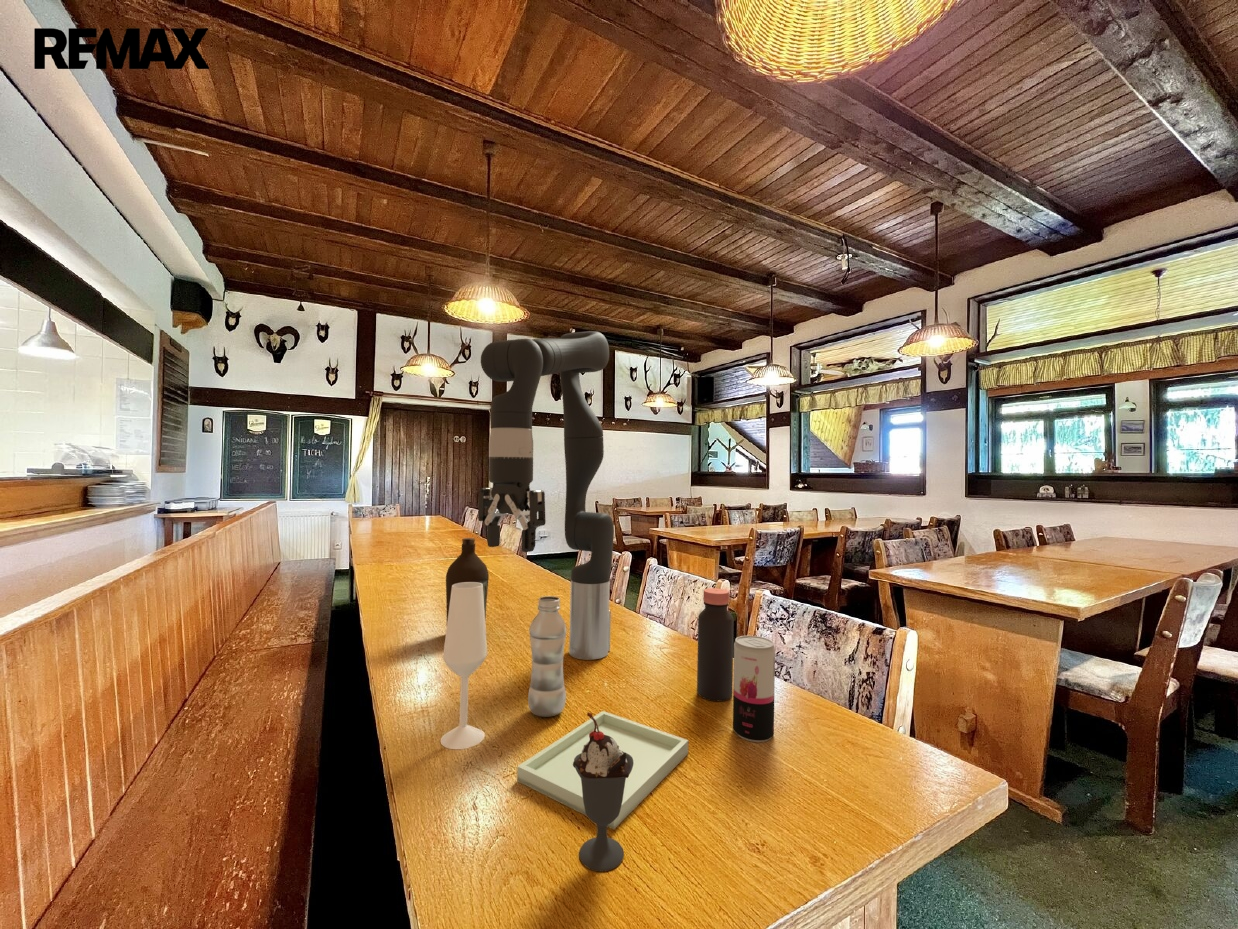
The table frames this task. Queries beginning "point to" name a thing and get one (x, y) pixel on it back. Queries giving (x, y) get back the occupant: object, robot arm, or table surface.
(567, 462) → the robot arm
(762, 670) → the beverage can
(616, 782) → the sundae
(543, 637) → the silver metal bottle
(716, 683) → the dark grey water bottle
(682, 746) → the tray
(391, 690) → the table surface
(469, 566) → the olive oil
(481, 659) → the champagne flute
